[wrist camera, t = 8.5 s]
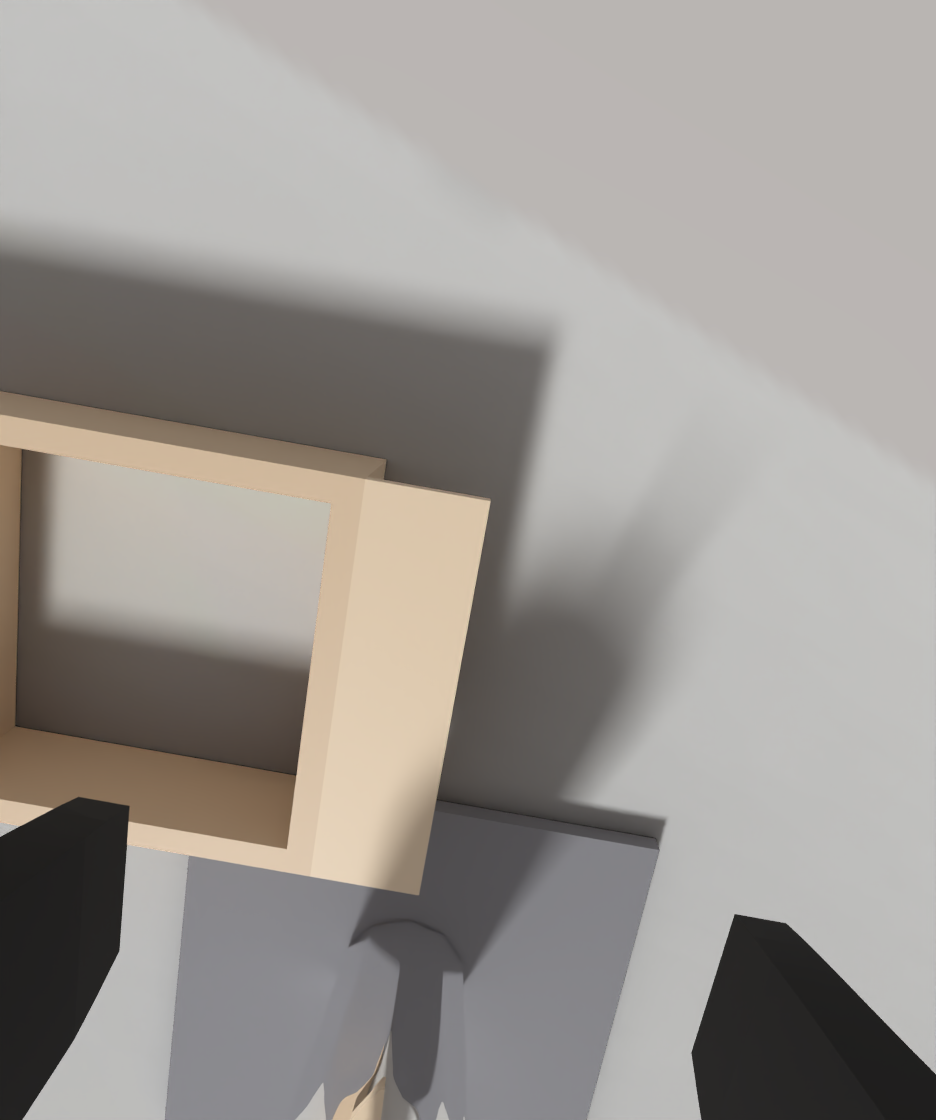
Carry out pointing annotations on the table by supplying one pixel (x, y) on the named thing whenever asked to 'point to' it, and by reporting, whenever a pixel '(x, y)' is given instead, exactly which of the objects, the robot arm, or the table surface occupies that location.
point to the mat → (443, 906)
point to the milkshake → (390, 1033)
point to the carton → (335, 673)
